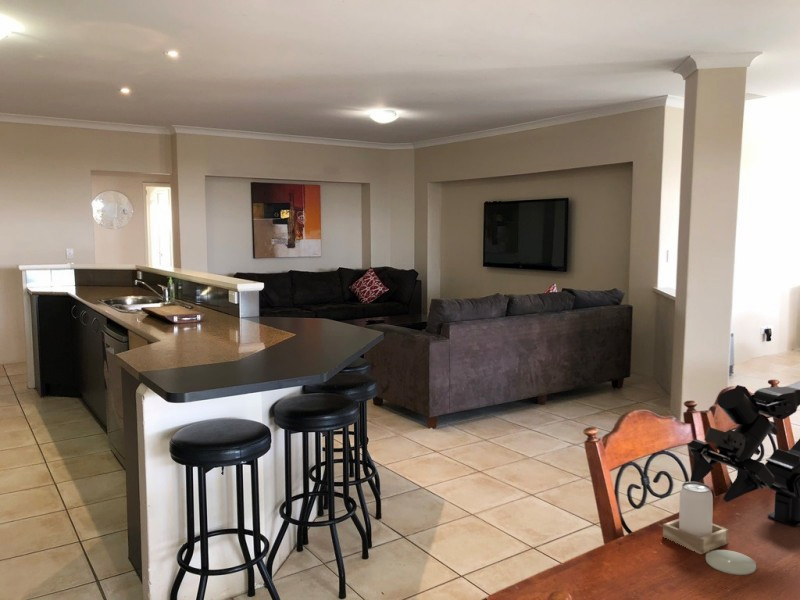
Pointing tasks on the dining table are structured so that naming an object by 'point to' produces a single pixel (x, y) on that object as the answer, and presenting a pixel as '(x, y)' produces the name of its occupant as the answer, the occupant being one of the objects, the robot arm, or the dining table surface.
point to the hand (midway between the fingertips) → (707, 493)
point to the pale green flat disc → (730, 562)
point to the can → (696, 509)
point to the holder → (694, 542)
